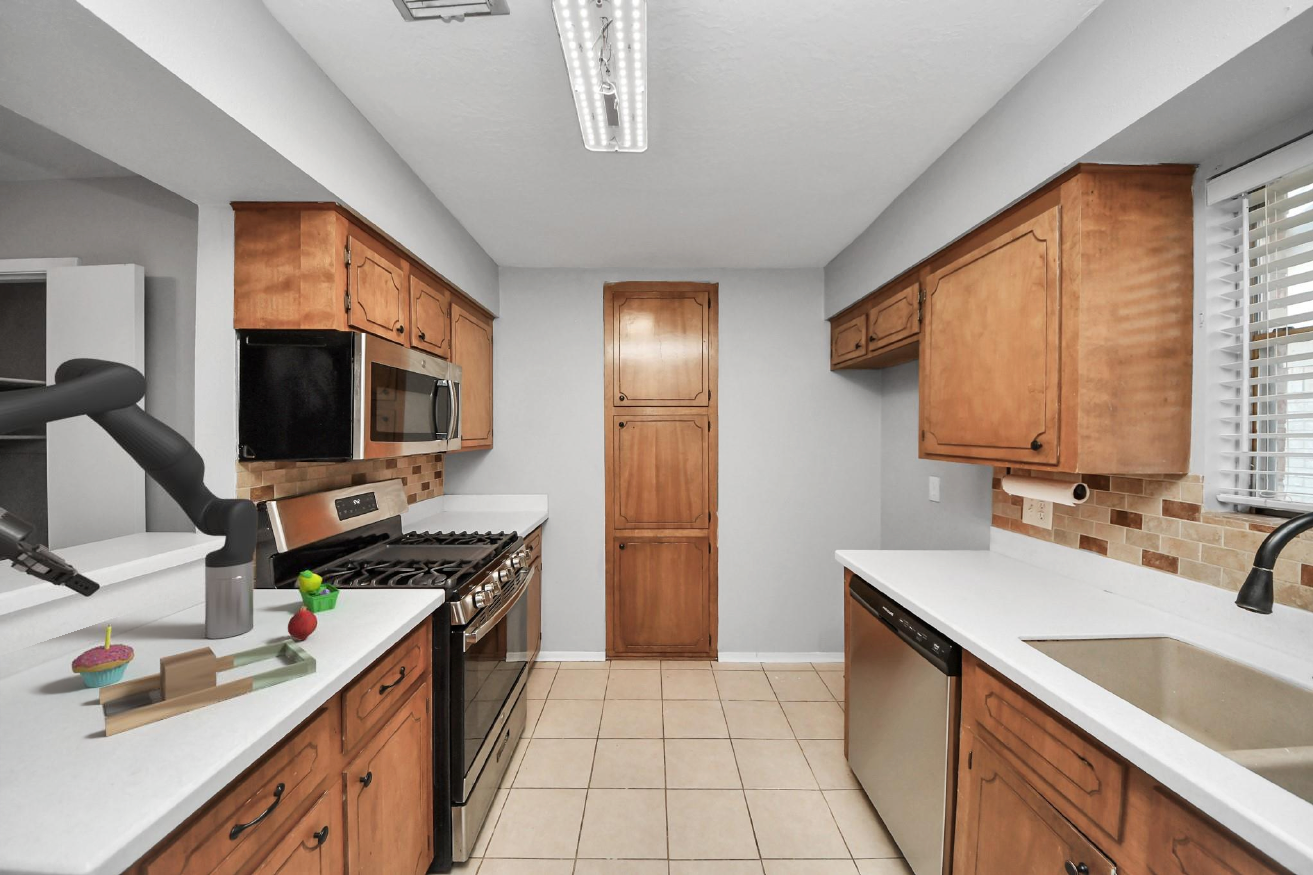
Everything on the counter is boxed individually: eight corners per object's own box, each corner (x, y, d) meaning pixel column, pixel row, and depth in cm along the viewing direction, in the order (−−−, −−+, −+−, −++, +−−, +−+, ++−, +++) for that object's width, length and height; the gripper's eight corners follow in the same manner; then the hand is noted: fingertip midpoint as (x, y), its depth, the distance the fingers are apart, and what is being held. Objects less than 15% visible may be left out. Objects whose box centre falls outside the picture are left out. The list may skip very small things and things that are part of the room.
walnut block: (160, 695, 96) (160, 658, 96) (209, 681, 101) (208, 646, 101) (165, 707, 91) (165, 669, 91) (216, 692, 97) (216, 656, 97)
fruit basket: (341, 608, 144) (341, 568, 144) (304, 616, 137) (304, 575, 137) (328, 600, 152) (328, 562, 152) (292, 607, 145) (292, 568, 145)
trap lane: (99, 701, 93) (99, 688, 93) (291, 649, 116) (291, 639, 116) (106, 736, 82) (106, 721, 82) (316, 671, 105) (316, 659, 105)
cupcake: (144, 676, 103) (144, 617, 103) (86, 696, 95) (86, 632, 95) (119, 669, 106) (119, 612, 106) (60, 688, 98) (60, 626, 98)
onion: (302, 646, 118) (301, 611, 118) (281, 644, 119) (281, 610, 119) (323, 636, 124) (323, 603, 124) (303, 634, 125) (303, 602, 125)
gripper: (3, 513, 76) (121, 579, 85) (6, 506, 84) (114, 567, 93) (-60, 555, 71) (72, 619, 81) (-49, 543, 80) (69, 603, 89)
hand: (94, 591), depth 87 cm, fingers closed
